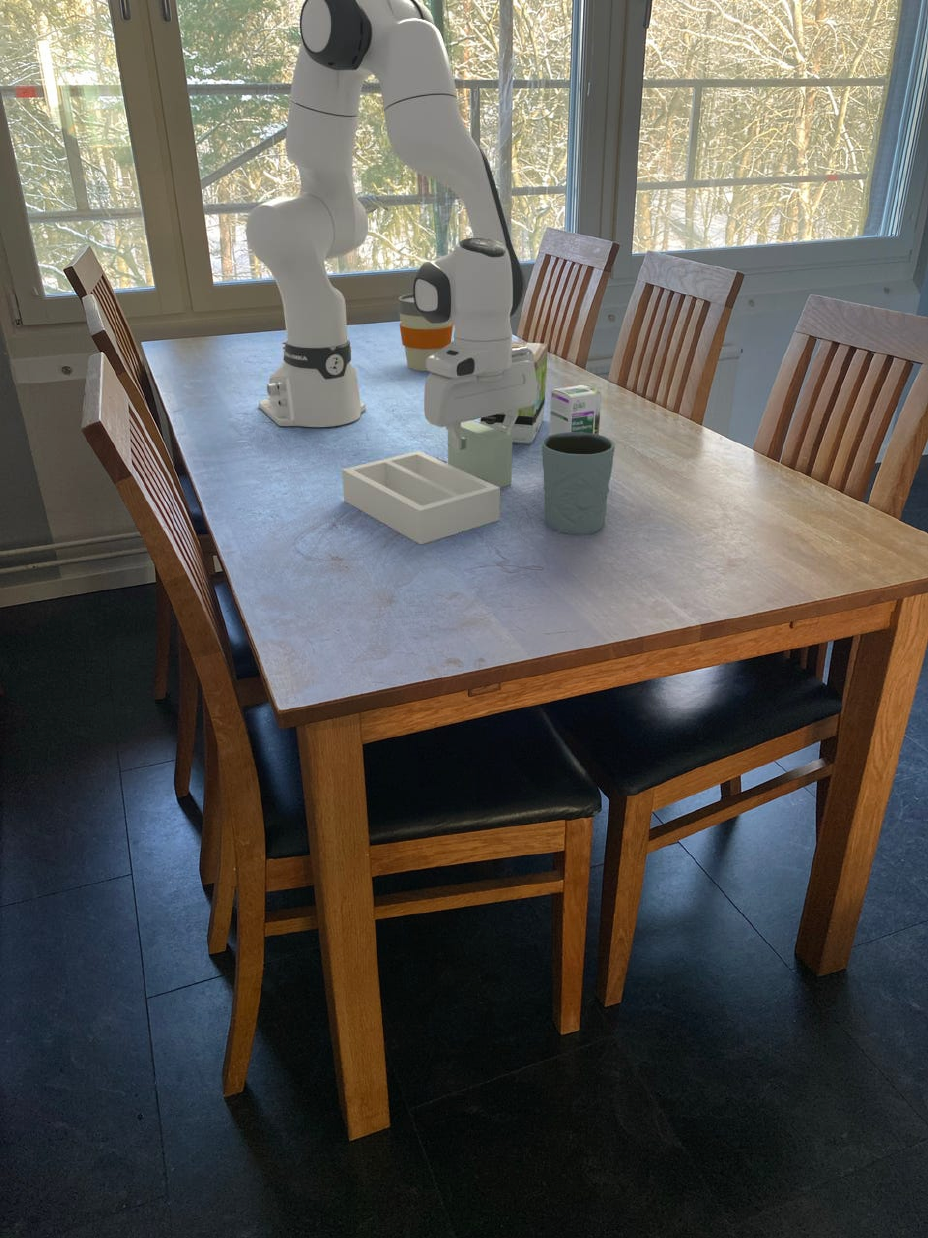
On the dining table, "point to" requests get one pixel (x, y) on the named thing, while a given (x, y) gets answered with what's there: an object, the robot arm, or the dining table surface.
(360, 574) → the dining table surface
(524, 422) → the tea box
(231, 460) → the dining table surface
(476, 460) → the long pale green block
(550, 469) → the gray green embossed cup
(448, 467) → the divided cream tray
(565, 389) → the syrup box
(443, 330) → the reusable coffee cup
